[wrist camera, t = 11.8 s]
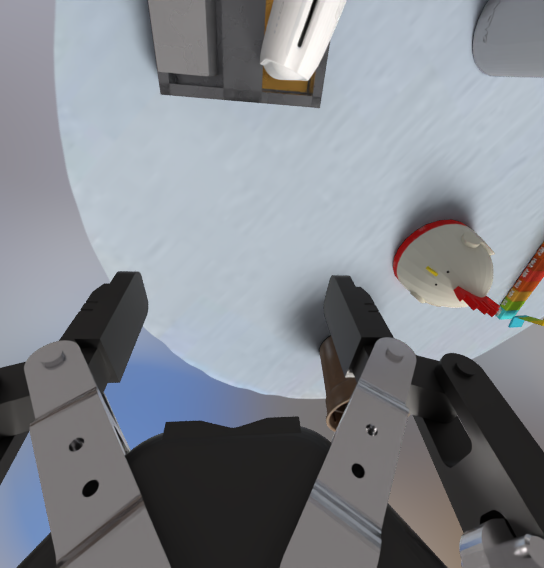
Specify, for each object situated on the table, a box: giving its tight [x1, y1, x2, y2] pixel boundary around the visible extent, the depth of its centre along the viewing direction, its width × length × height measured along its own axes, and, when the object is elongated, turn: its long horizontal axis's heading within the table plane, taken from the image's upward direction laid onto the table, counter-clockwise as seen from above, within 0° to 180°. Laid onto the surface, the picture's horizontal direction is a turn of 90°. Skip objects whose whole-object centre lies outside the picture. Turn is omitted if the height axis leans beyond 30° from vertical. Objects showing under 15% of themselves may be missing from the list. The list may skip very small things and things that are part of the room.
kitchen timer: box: [393, 220, 500, 317], centre depth 43 cm, size 14×14×15 cm
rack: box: [148, 0, 330, 108], centre depth 24 cm, size 17×14×11 cm
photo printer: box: [260, 0, 347, 81], centre depth 21 cm, size 10×4×12 cm, turn 158°
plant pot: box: [320, 336, 410, 432], centre depth 57 cm, size 16×16×16 cm
